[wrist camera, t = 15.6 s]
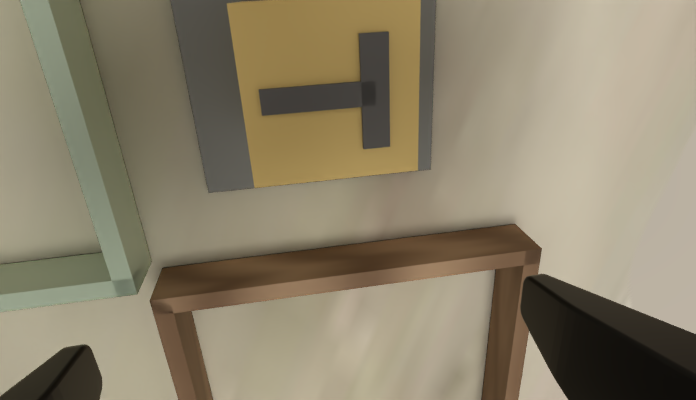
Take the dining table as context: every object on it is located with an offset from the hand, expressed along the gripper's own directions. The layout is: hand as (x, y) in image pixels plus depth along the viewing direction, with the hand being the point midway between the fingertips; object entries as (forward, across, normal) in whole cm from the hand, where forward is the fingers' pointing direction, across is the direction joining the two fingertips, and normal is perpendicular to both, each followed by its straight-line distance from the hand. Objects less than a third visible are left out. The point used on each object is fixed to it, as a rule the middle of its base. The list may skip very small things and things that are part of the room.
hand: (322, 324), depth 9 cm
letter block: (+11, -1, -4) cm, 12 cm away
